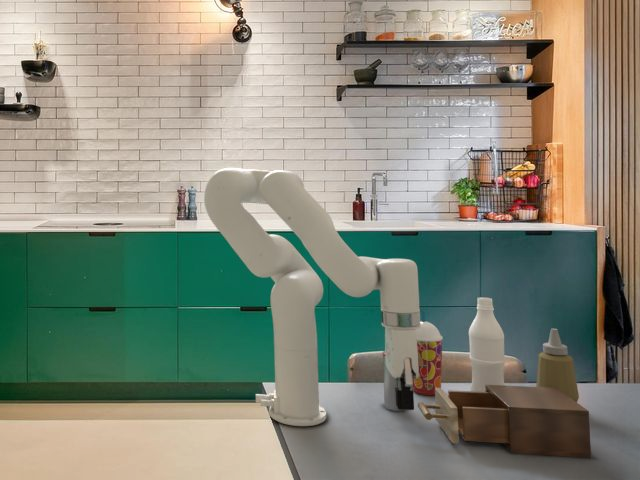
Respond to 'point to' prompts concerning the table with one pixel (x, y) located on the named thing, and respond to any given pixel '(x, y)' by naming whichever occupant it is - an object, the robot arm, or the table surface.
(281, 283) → the robot arm
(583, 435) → the cabinet
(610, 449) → the table surface
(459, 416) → the drawer
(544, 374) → the squeeze bottle
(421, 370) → the smoothie
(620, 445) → the table surface
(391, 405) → the spice tin
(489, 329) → the water bottle
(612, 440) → the table surface
